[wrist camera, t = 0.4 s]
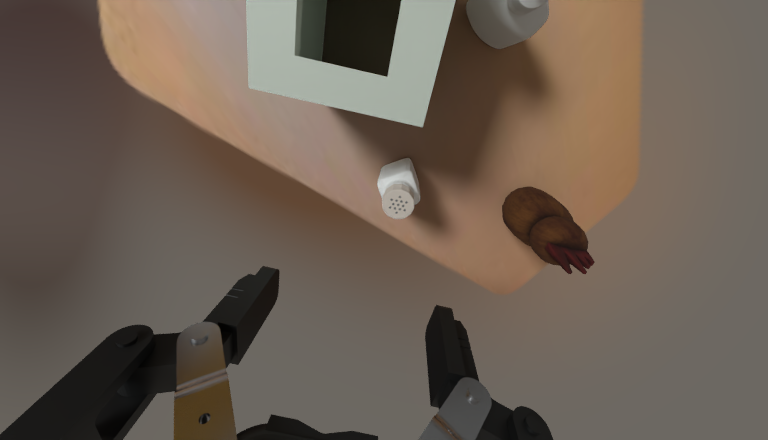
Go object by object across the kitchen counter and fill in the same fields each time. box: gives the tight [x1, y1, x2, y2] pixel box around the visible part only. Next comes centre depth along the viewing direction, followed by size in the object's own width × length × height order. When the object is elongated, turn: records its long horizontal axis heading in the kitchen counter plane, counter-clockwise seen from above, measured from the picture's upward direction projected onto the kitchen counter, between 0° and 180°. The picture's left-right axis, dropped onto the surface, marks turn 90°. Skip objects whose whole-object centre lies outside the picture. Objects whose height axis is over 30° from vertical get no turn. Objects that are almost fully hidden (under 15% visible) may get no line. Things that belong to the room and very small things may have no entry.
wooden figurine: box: [502, 187, 594, 274], centre depth 28 cm, size 7×6×15 cm
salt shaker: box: [377, 158, 421, 219], centre depth 30 cm, size 4×4×10 cm
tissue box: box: [246, 0, 456, 127], centre depth 22 cm, size 12×12×14 cm
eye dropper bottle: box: [466, 0, 549, 49], centre depth 21 cm, size 4×6×12 cm
